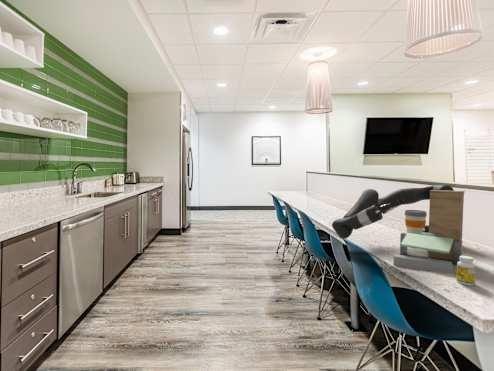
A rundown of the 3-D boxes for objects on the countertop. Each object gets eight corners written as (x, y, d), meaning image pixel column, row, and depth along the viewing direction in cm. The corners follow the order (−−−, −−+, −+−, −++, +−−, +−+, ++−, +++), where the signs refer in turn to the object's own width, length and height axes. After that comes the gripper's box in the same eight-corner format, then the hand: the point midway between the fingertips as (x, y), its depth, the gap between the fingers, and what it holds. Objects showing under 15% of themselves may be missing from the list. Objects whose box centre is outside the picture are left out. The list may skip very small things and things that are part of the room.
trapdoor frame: (401, 253, 141) (402, 232, 141) (461, 264, 125) (462, 240, 124) (399, 254, 139) (400, 233, 138) (460, 265, 123) (461, 242, 122)
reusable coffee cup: (426, 233, 188) (426, 210, 188) (426, 236, 178) (426, 213, 177) (404, 230, 195) (405, 209, 194) (403, 234, 184) (404, 211, 184)
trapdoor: (408, 232, 138) (408, 230, 138) (454, 238, 126) (454, 235, 126) (400, 245, 128) (400, 243, 128) (449, 253, 116) (448, 251, 116)
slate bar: (394, 254, 128) (393, 256, 124) (450, 261, 117) (452, 264, 114) (393, 262, 128) (393, 265, 124) (450, 271, 118) (452, 274, 114)
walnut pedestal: (430, 253, 141) (432, 189, 139) (461, 259, 132) (464, 191, 131) (427, 257, 134) (429, 190, 133) (459, 263, 126) (462, 192, 124)
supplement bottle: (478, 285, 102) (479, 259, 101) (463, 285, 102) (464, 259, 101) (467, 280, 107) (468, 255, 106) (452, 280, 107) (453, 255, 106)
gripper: (378, 221, 143) (409, 207, 133) (368, 224, 133) (401, 210, 123) (371, 207, 145) (401, 193, 135) (360, 210, 135) (392, 195, 125)
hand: (401, 201), depth 129 cm, fingers open, 8 cm apart
